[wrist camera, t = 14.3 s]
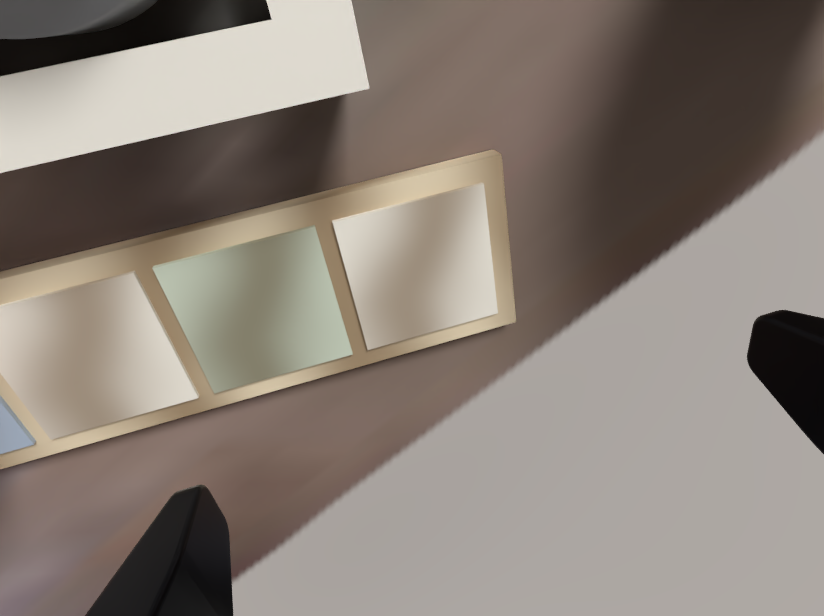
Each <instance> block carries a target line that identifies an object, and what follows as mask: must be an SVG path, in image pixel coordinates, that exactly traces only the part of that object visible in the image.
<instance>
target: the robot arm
mask: <svg viewBox="0 0 824 616" xmlns="http://www.w3.org/2000/svg"><path fill="white" fill-rule="evenodd" d="M747 360H748V364H749V366H750V368H751V370H752V371H753V373H754V374H755V375H756V376H757V377H758V379H759V380H760V381H761V382H762V383H763V384H764V386H765V387H766V388H767V389H768V390H769V392H770V393H771V394H772V395H773V396H774V398H776V400H777V401H778V402H779V403H780V405H781V406H782V407H783V408H784V409H785V411H786V412H787V413H788V414H789V415H790V417H791V418H792V419H793V420H794V421H795V423H796V424H797V425H798V426H799V427H800V428H801V430H802V431H803V432H804V433H805V434H806V436H807V437H808V438H809V439H810V440H811V441H812V442H813V443H814V445H815V446H816V447H817V448H818V449H819V450H820V451H821V452H822V453H823V454H824V318H820V317H815V316H811V315H806V314H801V313H797V312H792V311H788V310H779V311H775V312H772V313H768V314H765V315H762V316H760V317H758V318H757V319H756V320H755V322H754V324H753V328H752V333H751V339H750V343H749V348H748V353H747ZM85 616H233V603H232V582H231V562H230V541H229V530H228V525H227V522H226V519H225V517H224V515H223V514H222V512H221V510H220V508H219V507H218V505H217V503H216V501H215V500H214V498H213V496H212V494H211V493H210V491H209V490H208V488H207V487H206V486H204V485H197V486H193V487H190V488H187V489H183V490H180V491H178V492H176V493H174V494H173V495H172V496H171V498H170V499H169V500H168V502H167V503H166V504H165V506H164V507H163V509H162V510H161V511H160V513H159V514H158V515H157V517H156V518H155V520H154V521H153V522H152V524H151V525H150V527H149V528H148V529H147V531H146V532H145V533H144V535H143V536H142V538H141V539H140V540H139V542H138V543H137V545H136V546H135V547H134V549H133V550H132V551H131V553H130V554H129V556H128V557H127V558H126V560H125V561H124V563H123V564H122V565H121V567H120V568H119V569H118V571H117V572H116V574H115V575H114V576H113V578H112V579H111V580H110V582H109V583H108V585H107V586H106V587H105V589H104V590H103V592H102V593H101V594H100V596H99V597H98V598H97V600H96V601H95V603H94V604H93V605H92V607H91V608H90V610H89V611H88V612H87V614H86V615H85Z"/></svg>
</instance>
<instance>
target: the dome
mask: <svg viewBox="0 0 824 616" xmlns="http://www.w3.org/2000/svg"><path fill="white" fill-rule="evenodd" d="M156 1H158V0H0V39H30V38H41V37H52V36H64V35H75V34H83V33H91V32H98V31H102V30H105V29H109V28H112V27H116V26H118V25H121V24H123V23H125V22H127V21H129V20H131V19H133V18H135V17H137V16H138V15H140V14H141V13H143V12H144V11H146V10H147V9H149V8H150V7H151V6H152V5H153V4H154V3H155V2H156Z"/></svg>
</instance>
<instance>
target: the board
mask: <svg viewBox="0 0 824 616" xmlns="http://www.w3.org/2000/svg"><path fill="white" fill-rule="evenodd" d="M514 322H516V314H515V303H514V291H513V280H512V268H511V257H510V246H509V234H508V223H507V211H506V200H505V188H504V177H503V165H502V154H500V153H498V152H497V151H495V150H489V151H485V152H481V153H477V154H472V155H468V156H464V157H460V158H456V159H452V160H448V161H444V162H440V163H436V164H432V165H428V166H424V167H420V168H416V169H412V170H408V171H404V172H400V173H396V174H392V175H388V176H384V177H380V178H376V179H372V180H368V181H364V182H359V183H355V184H351V185H347V186H343V187H339V188H335V189H331V190H327V191H323V192H319V193H315V194H311V195H307V196H303V197H299V198H295V199H291V200H287V201H283V202H279V203H275V204H271V205H267V206H263V207H259V208H255V209H251V210H246V211H242V212H238V213H234V214H230V215H226V216H222V217H218V218H214V219H210V220H206V221H202V222H198V223H194V224H190V225H186V226H182V227H178V228H174V229H170V230H166V231H162V232H158V233H154V234H150V235H146V236H142V237H138V238H133V239H129V240H125V241H121V242H117V243H113V244H109V245H105V246H101V247H97V248H93V249H89V250H85V251H81V252H77V253H73V254H69V255H65V256H61V257H57V258H53V259H49V260H45V261H41V262H37V263H33V264H29V265H25V266H20V267H16V268H12V269H8V270H4V271H0V469H3V468H7V467H10V466H14V465H17V464H21V463H24V462H28V461H31V460H35V459H38V458H42V457H45V456H49V455H52V454H56V453H59V452H63V451H66V450H70V449H73V448H77V447H80V446H84V445H87V444H91V443H94V442H98V441H101V440H105V439H108V438H112V437H115V436H119V435H122V434H126V433H129V432H133V431H136V430H140V429H143V428H147V427H150V426H154V425H157V424H161V423H164V422H168V421H171V420H175V419H178V418H182V417H185V416H189V415H192V414H196V413H199V412H203V411H206V410H210V409H213V408H217V407H220V406H224V405H227V404H231V403H234V402H238V401H241V400H245V399H248V398H252V397H255V396H259V395H262V394H266V393H269V392H273V391H276V390H280V389H283V388H287V387H290V386H294V385H297V384H301V383H304V382H308V381H311V380H315V379H318V378H322V377H325V376H329V375H332V374H336V373H339V372H343V371H346V370H350V369H353V368H357V367H360V366H364V365H367V364H371V363H374V362H378V361H381V360H385V359H388V358H392V357H395V356H399V355H402V354H406V353H409V352H413V351H416V350H420V349H423V348H427V347H430V346H434V345H437V344H441V343H444V342H448V341H451V340H455V339H458V338H462V337H465V336H469V335H472V334H476V333H479V332H483V331H486V330H490V329H493V328H497V327H500V326H504V325H507V324H511V323H514Z"/></svg>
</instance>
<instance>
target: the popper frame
mask: <svg viewBox="0 0 824 616" xmlns="http://www.w3.org/2000/svg"><path fill="white" fill-rule="evenodd" d="M266 1H267V5H268V8H269V12H270V16H271V19H270V20H265V21H260V22H255V23H251V24H246V25H241V26H236V27H232V28H227V29H222V30H217V31H213V32H208V33H203V34H198V35H194V36H189V37H184V38H179V39H174V40H170V41H165V42H160V43H155V44H151V45H146V46H141V47H136V48H132V49H127V50H122V51H117V52H113V53H108V54H103V55H98V56H94V57H89V58H84V59H79V60H75V61H70V62H65V63H60V64H56V65H51V66H46V67H41V68H37V69H32V70H27V71H22V72H18V73H13V74H8V75H3V76H0V173H3V172H7V171H11V170H16V169H20V168H24V167H29V166H33V165H38V164H42V163H46V162H51V161H55V160H59V159H64V158H68V157H73V156H77V155H81V154H86V153H90V152H94V151H99V150H103V149H107V148H112V147H116V146H121V145H125V144H129V143H134V142H138V141H142V140H147V139H151V138H156V137H160V136H164V135H169V134H173V133H177V132H182V131H186V130H190V129H195V128H199V127H204V126H208V125H212V124H217V123H221V122H225V121H230V120H234V119H239V118H243V117H247V116H252V115H256V114H260V113H265V112H269V111H274V110H278V109H282V108H287V107H291V106H295V105H300V104H304V103H308V102H313V101H317V100H322V99H326V98H330V97H335V96H339V95H343V94H348V93H352V92H357V91H361V90H365V89H369V84H368V79H367V74H366V69H365V64H364V60H363V55H362V50H361V45H360V40H359V35H358V30H357V26H356V21H355V16H354V11H353V6H352V1H351V0H266Z"/></svg>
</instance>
